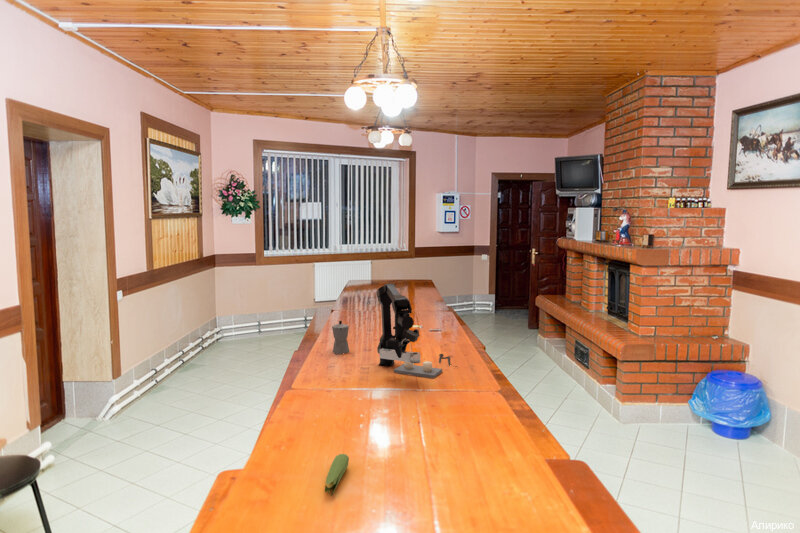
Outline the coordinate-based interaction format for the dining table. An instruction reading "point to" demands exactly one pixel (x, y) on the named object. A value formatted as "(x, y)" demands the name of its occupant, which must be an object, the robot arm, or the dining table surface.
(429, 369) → the tool rack
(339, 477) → the edible corn
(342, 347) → the coffeepot
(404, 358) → the spanner
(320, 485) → the dining table surface
